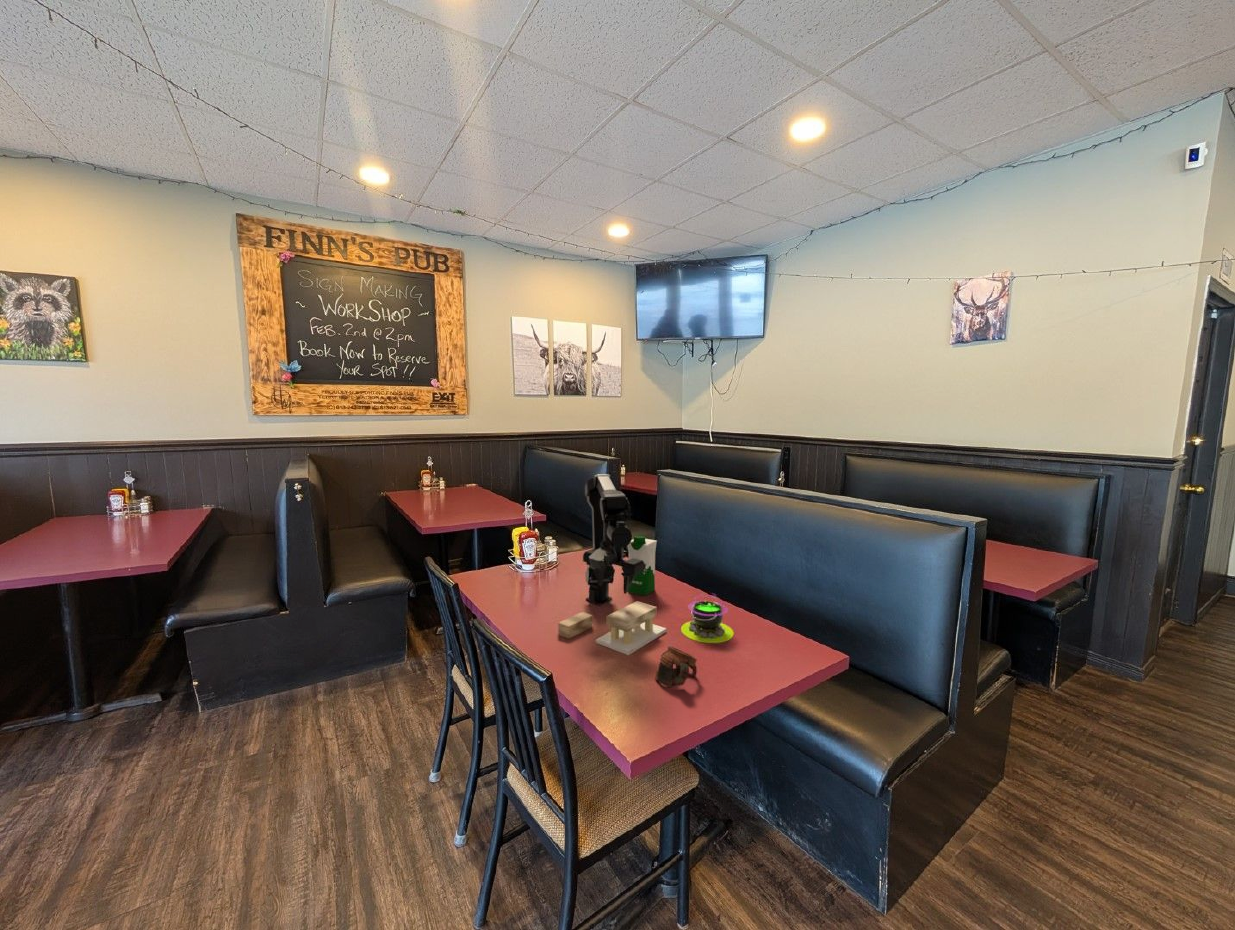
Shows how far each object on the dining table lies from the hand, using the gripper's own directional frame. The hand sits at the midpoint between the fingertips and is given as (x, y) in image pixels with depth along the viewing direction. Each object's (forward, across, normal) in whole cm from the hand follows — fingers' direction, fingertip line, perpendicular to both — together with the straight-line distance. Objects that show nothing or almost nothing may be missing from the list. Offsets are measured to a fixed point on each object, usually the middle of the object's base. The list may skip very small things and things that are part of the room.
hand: (612, 589), depth 146 cm
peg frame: (+11, +8, -2) cm, 14 cm away
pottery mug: (+11, +30, -14) cm, 35 cm away
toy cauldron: (+12, +23, +15) cm, 30 cm away
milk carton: (+12, -10, +30) cm, 34 cm away
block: (+11, -7, -8) cm, 16 cm away
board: (+6, +8, -2) cm, 11 cm away
